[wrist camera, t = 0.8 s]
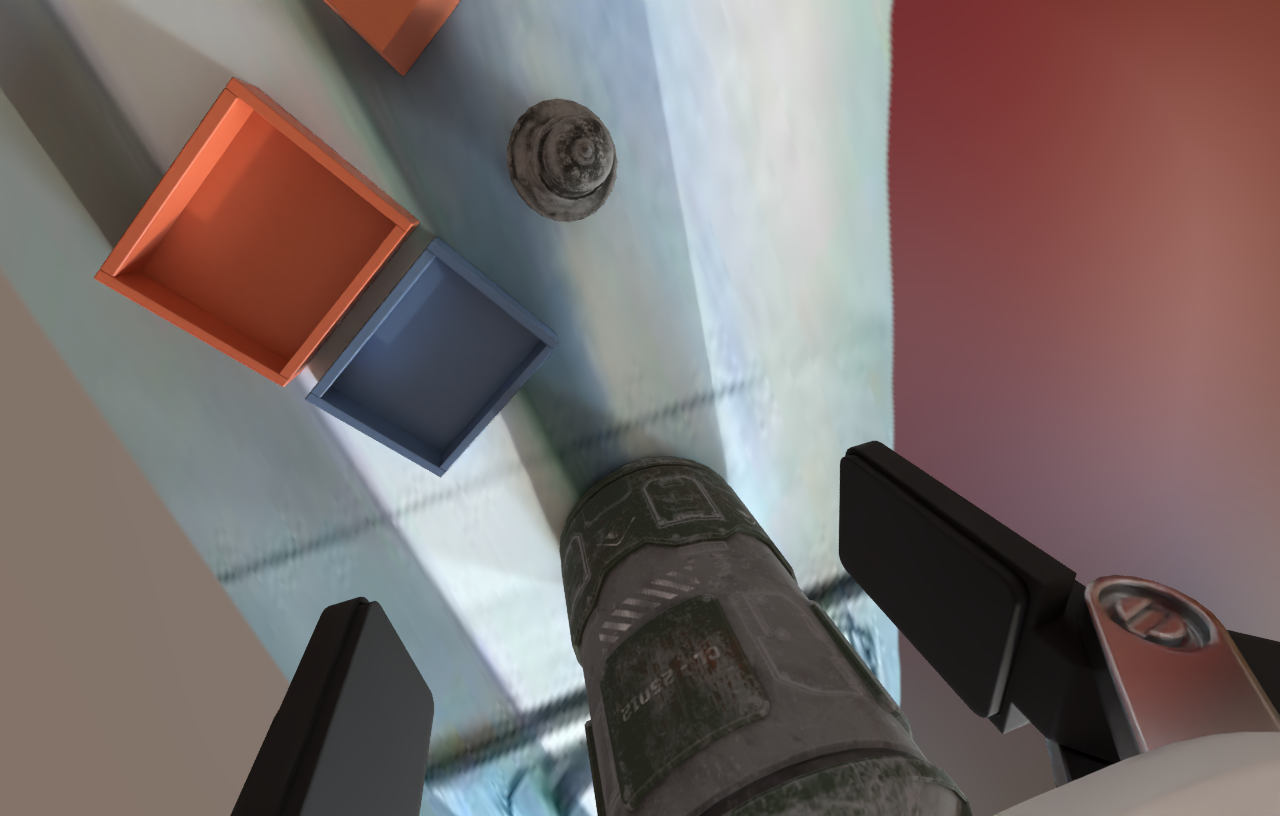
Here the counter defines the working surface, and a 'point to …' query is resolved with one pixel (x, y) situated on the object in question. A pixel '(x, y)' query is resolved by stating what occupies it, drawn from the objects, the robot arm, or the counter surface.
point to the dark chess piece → (562, 160)
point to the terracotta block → (395, 25)
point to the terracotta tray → (257, 237)
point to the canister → (722, 666)
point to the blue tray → (435, 361)
